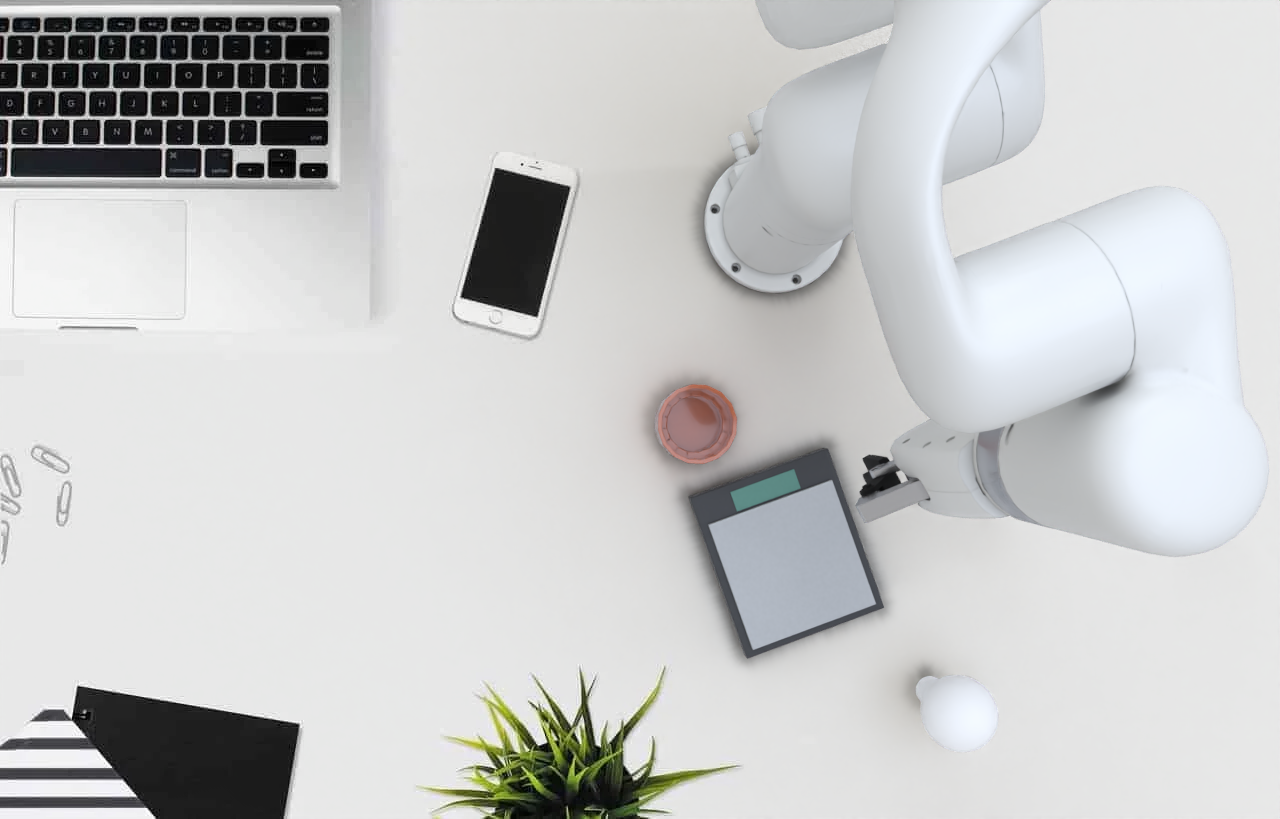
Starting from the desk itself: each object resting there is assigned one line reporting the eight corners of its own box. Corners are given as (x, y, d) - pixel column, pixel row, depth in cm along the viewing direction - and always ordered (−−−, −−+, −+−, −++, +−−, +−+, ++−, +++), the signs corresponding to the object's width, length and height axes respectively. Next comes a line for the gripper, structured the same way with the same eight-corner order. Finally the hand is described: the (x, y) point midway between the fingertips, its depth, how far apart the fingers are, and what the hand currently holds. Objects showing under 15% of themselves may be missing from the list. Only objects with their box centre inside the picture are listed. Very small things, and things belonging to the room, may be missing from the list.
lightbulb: (890, 657, 90) (932, 689, 79) (956, 650, 90) (1007, 681, 79) (896, 724, 90) (938, 766, 79) (962, 718, 90) (1014, 758, 79)
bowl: (644, 401, 89) (647, 400, 84) (714, 376, 89) (721, 373, 85) (669, 472, 89) (673, 474, 84) (739, 446, 89) (747, 448, 85)
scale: (688, 496, 89) (690, 498, 87) (823, 447, 90) (829, 448, 88) (744, 654, 89) (748, 660, 87) (879, 604, 90) (886, 609, 88)
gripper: (1162, 314, 52) (1019, 337, 70) (875, 469, 52) (802, 453, 69) (1226, 440, 53) (1068, 432, 70) (942, 596, 52) (852, 549, 69)
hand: (936, 443), depth 69 cm, fingers open, 9 cm apart
